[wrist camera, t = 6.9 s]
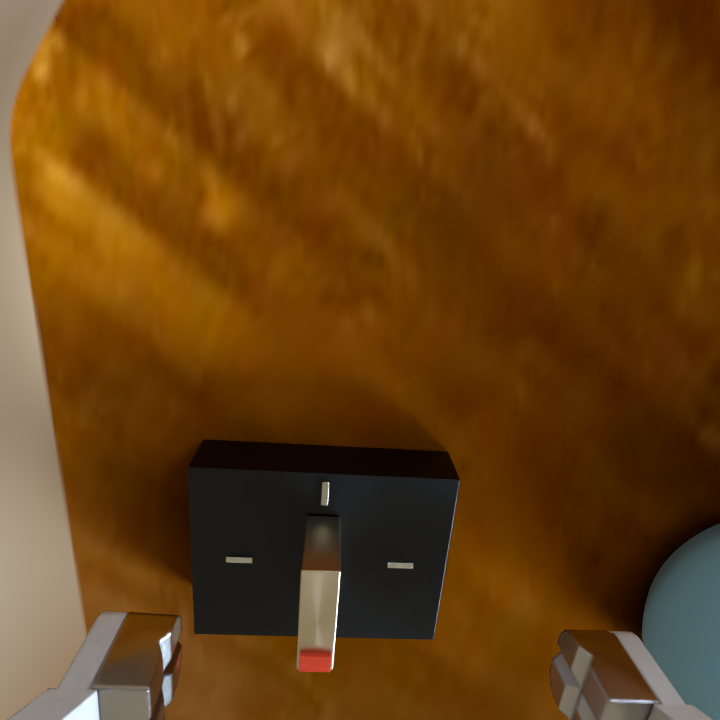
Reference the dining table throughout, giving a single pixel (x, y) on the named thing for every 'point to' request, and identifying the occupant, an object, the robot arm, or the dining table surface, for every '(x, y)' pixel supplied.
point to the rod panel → (287, 530)
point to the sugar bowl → (688, 621)
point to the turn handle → (319, 594)
